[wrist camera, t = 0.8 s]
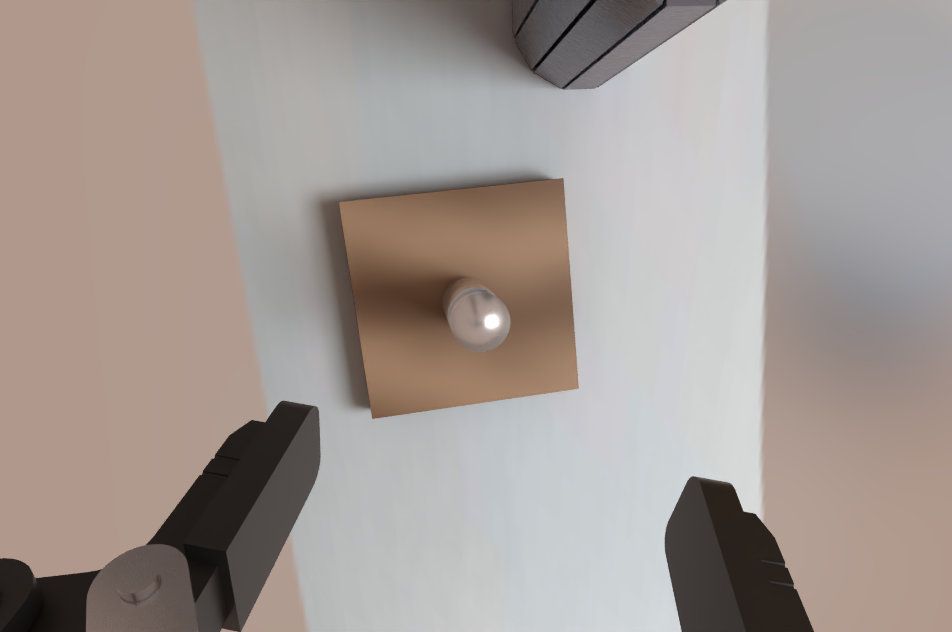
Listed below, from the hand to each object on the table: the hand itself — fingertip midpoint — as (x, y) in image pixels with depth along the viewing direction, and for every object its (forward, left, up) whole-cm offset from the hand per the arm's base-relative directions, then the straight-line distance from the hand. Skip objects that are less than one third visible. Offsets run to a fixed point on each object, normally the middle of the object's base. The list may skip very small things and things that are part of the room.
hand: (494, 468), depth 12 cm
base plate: (0, +2, -15) cm, 15 cm away
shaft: (0, +2, -14) cm, 14 cm away
